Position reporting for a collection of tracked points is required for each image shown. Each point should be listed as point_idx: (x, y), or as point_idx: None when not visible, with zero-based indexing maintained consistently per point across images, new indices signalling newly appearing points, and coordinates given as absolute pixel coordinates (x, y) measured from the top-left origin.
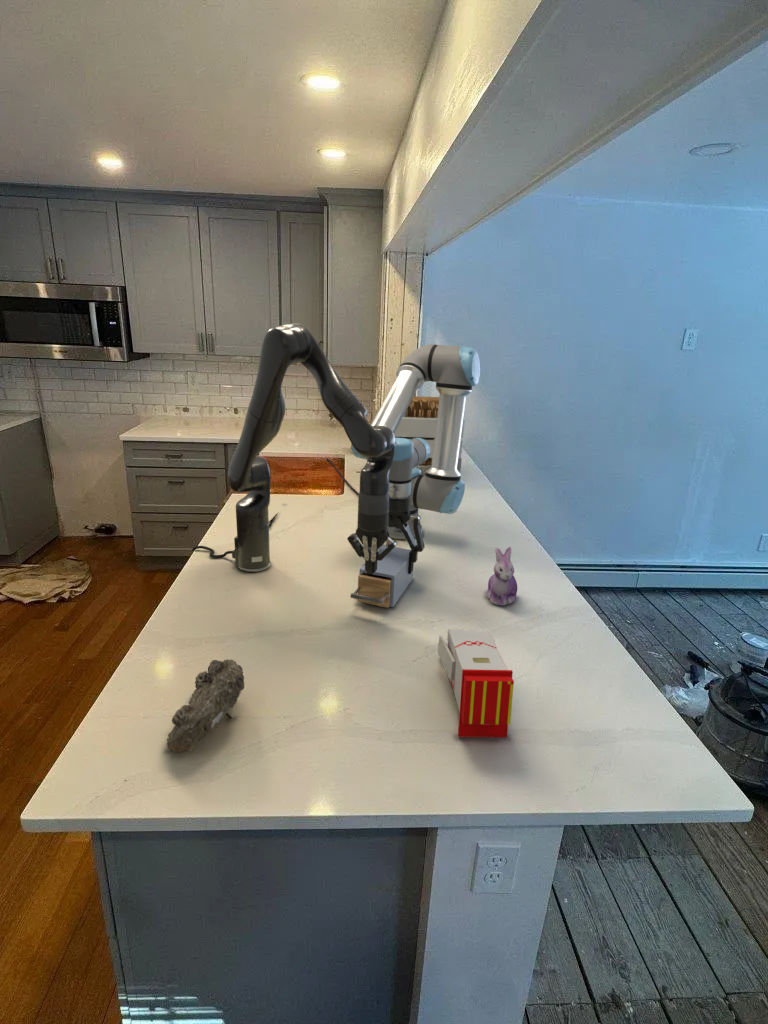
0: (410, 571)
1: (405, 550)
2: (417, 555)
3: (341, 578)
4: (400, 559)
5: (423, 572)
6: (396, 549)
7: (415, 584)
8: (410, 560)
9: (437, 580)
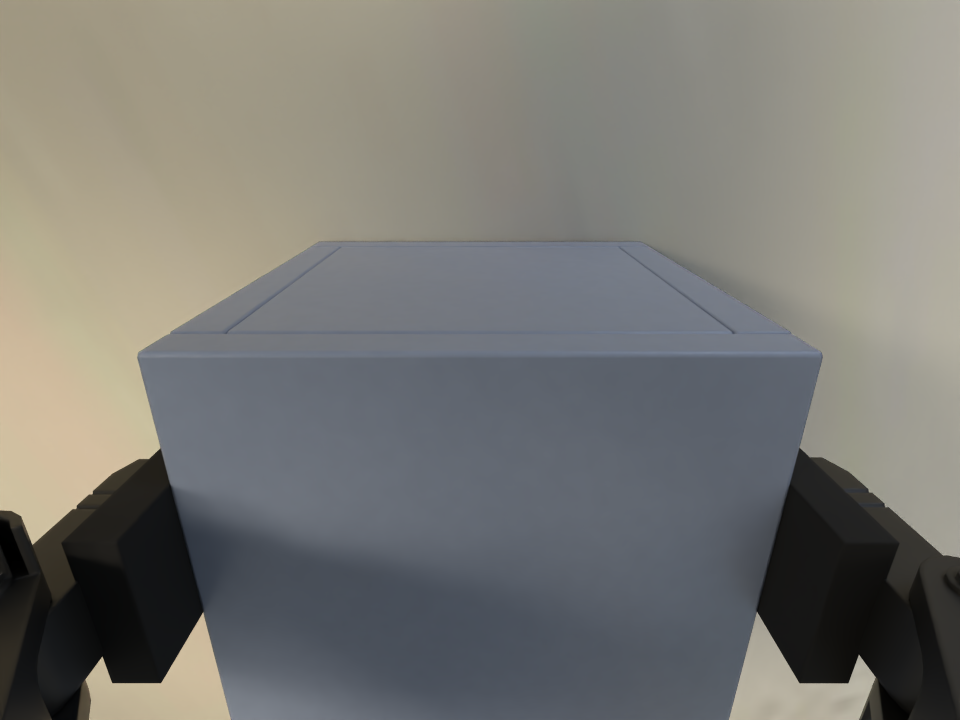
0: None
1: (659, 417)
2: (897, 519)
3: (81, 455)
4: (646, 713)
5: (734, 3)
6: (486, 441)
7: None
8: None
9: (895, 146)
